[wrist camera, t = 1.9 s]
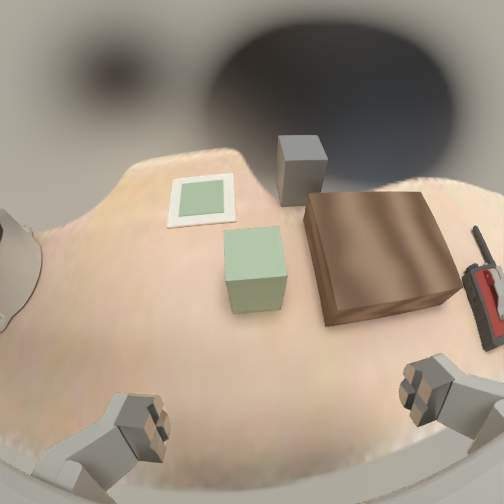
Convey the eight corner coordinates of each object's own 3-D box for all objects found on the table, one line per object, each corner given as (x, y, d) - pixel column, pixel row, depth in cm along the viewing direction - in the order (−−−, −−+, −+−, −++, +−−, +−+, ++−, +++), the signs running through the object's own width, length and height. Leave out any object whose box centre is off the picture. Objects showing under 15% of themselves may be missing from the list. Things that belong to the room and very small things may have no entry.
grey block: (281, 206, 37) (285, 160, 30) (275, 180, 39) (278, 135, 33) (317, 204, 37) (328, 159, 30) (309, 179, 39) (317, 135, 33)
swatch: (167, 228, 35) (166, 226, 35) (173, 180, 40) (173, 178, 40) (236, 222, 35) (236, 219, 35) (233, 174, 40) (233, 171, 40)
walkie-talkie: (514, 343, 24) (473, 230, 35) (534, 333, 21) (487, 214, 31) (482, 362, 24) (439, 233, 35) (504, 353, 20) (453, 215, 31)
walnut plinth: (325, 326, 28) (337, 310, 24) (303, 220, 35) (308, 193, 31) (441, 304, 29) (463, 286, 24) (407, 215, 36) (420, 191, 32)
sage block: (233, 313, 29) (225, 281, 22) (230, 271, 32) (223, 230, 25) (280, 309, 29) (287, 275, 23) (274, 268, 32) (279, 225, 25)
